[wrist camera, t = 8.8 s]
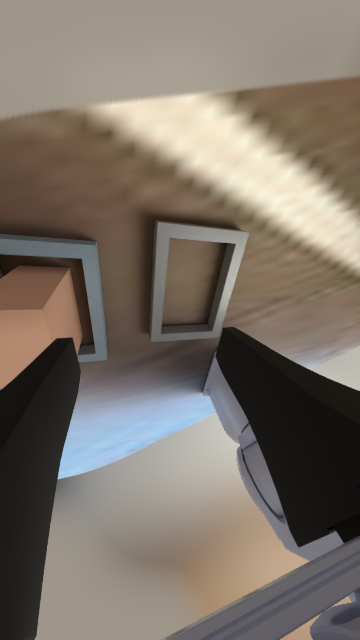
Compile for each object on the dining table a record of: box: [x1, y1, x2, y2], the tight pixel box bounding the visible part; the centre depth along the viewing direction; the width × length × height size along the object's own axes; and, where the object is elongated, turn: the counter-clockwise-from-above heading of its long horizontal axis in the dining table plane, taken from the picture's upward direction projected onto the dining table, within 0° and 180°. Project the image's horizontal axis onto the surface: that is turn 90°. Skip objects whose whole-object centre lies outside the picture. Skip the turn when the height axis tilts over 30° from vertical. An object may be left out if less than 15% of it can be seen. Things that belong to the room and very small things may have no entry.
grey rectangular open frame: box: [149, 220, 249, 342], centre depth 19 cm, size 12×8×2 cm
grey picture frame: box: [0, 234, 108, 363], centre depth 16 cm, size 12×8×2 cm
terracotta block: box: [0, 266, 83, 389], centre depth 14 cm, size 7×4×7 cm, turn 172°
